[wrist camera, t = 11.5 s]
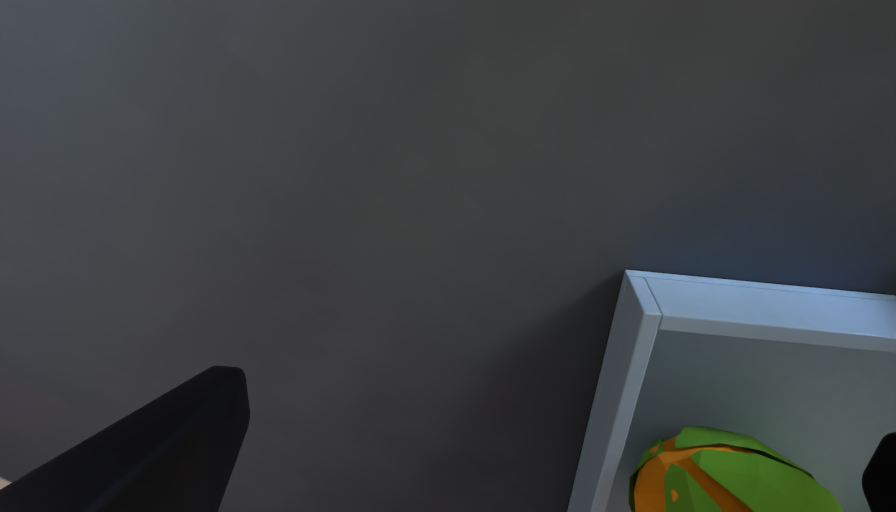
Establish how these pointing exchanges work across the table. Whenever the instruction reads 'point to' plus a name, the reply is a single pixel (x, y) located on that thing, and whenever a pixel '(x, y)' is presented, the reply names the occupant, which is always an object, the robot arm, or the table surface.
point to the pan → (741, 378)
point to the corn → (722, 477)
